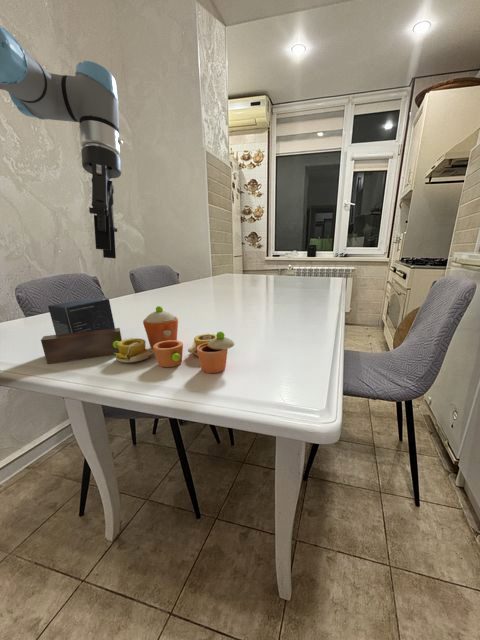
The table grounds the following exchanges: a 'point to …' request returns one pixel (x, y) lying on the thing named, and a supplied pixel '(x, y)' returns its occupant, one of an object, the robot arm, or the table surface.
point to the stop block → (80, 345)
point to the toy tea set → (174, 344)
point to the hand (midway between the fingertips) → (106, 254)
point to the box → (81, 315)
